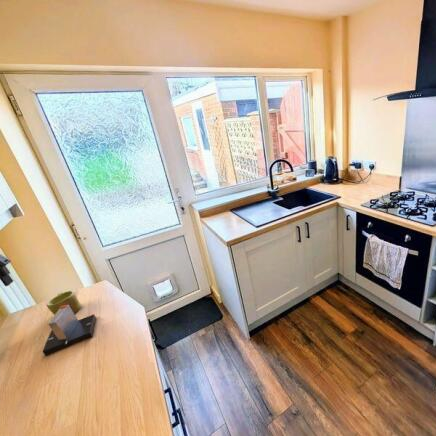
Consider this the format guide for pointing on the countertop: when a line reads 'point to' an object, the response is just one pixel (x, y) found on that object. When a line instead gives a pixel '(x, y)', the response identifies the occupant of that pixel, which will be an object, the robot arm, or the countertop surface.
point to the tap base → (71, 336)
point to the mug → (64, 302)
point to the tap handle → (63, 323)
